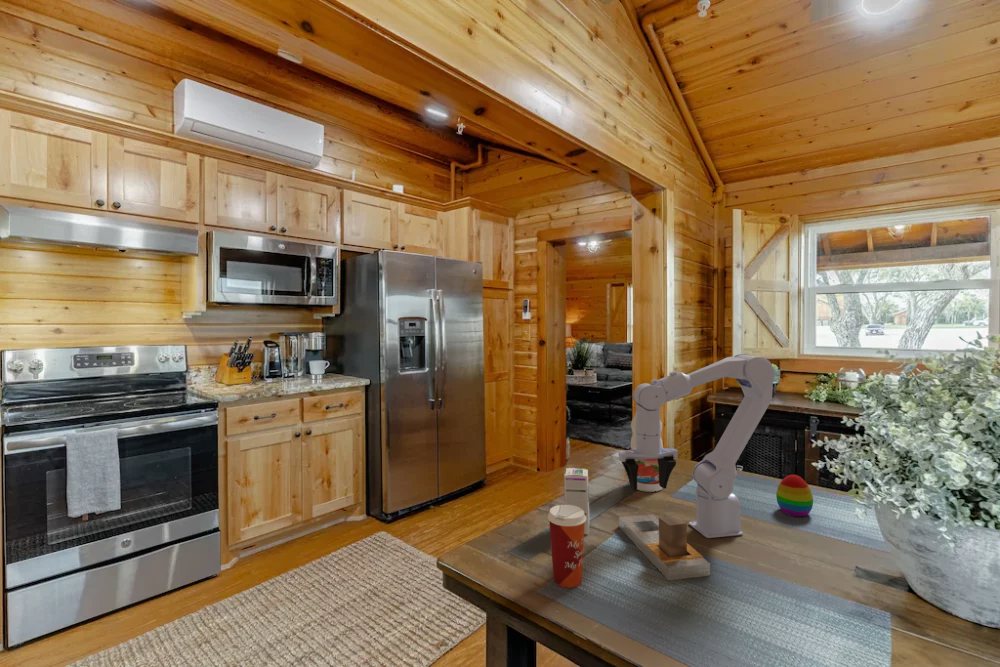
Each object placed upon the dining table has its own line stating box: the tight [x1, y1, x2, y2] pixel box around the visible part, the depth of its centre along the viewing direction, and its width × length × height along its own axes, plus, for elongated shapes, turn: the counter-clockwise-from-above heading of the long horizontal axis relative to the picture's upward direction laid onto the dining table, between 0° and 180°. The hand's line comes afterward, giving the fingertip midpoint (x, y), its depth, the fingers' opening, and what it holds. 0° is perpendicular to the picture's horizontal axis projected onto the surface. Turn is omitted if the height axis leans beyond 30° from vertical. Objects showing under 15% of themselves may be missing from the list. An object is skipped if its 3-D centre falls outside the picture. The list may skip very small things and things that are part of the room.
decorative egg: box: [775, 474, 814, 517], centre depth 122 cm, size 8×8×10 cm
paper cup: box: [547, 504, 586, 589], centre depth 93 cm, size 8×8×14 cm
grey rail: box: [618, 513, 711, 581], centre depth 104 cm, size 9×24×3 cm, turn 9°
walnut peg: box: [658, 515, 688, 557], centre depth 99 cm, size 4×4×9 cm
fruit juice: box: [630, 413, 664, 493], centre depth 142 cm, size 9×9×28 cm
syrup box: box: [563, 467, 590, 536], centre depth 115 cm, size 6×6×14 cm
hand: (648, 488), depth 113 cm, fingers open, 7 cm apart
